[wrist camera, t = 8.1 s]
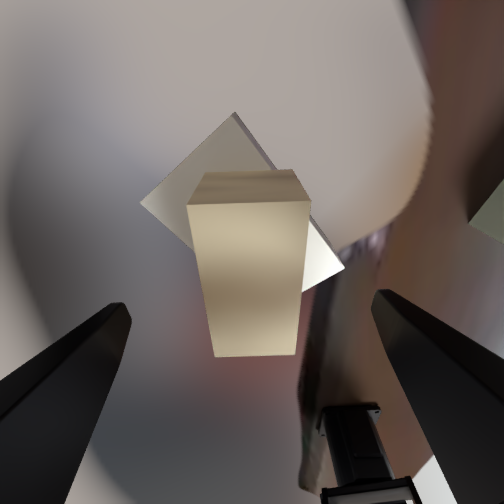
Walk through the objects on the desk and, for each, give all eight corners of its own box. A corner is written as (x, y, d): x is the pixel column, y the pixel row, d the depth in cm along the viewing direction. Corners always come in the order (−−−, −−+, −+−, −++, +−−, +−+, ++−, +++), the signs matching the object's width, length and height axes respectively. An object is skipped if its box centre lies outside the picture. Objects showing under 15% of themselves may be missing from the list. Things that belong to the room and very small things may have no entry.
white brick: (330, 242, 17) (344, 268, 14) (261, 284, 19) (262, 314, 16) (235, 111, 12) (231, 115, 10) (158, 184, 14) (139, 202, 12)
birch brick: (285, 298, 15) (295, 354, 12) (222, 300, 15) (214, 357, 12) (292, 169, 11) (311, 200, 8) (205, 172, 11) (186, 205, 8)
